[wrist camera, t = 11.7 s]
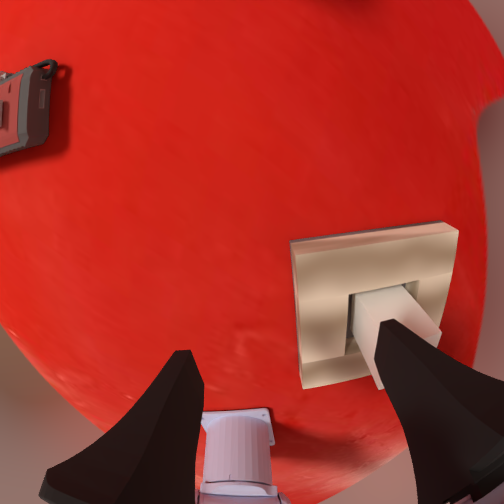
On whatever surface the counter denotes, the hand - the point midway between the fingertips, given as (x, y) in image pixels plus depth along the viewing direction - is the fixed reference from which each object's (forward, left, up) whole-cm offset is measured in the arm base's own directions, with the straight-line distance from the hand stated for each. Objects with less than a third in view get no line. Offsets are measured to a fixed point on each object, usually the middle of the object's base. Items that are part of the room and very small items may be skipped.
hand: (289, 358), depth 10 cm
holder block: (-6, -8, -10) cm, 14 cm away
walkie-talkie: (+17, +23, -11) cm, 31 cm away
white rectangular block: (-6, -8, -10) cm, 14 cm away
